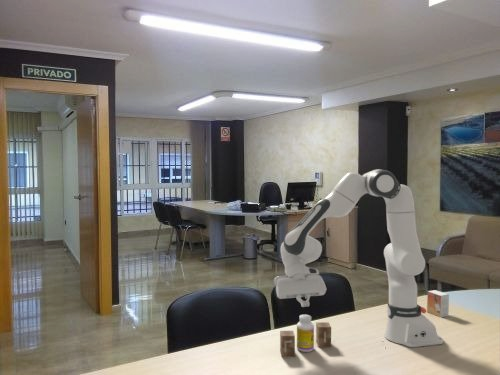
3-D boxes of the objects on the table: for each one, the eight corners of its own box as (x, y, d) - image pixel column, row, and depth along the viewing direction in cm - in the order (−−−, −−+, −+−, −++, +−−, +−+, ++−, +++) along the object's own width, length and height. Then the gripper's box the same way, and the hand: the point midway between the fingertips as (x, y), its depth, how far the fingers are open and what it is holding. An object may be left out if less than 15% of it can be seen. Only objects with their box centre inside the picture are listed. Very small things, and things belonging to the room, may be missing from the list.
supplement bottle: (313, 353, 155) (313, 320, 155) (296, 352, 156) (296, 319, 156) (314, 346, 162) (314, 314, 161) (297, 344, 163) (297, 313, 162)
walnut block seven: (293, 350, 157) (293, 330, 157) (294, 357, 152) (294, 336, 152) (280, 351, 157) (280, 330, 157) (281, 357, 152) (281, 336, 152)
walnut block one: (328, 341, 166) (328, 322, 165) (331, 347, 161) (331, 327, 160) (316, 341, 166) (316, 322, 165) (318, 347, 161) (318, 327, 160)
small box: (426, 312, 199) (427, 291, 199) (434, 310, 201) (435, 289, 201) (440, 317, 192) (440, 295, 191) (448, 315, 194) (449, 294, 194)
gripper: (274, 272, 163) (282, 304, 154) (321, 269, 168) (332, 300, 158) (271, 280, 167) (278, 312, 158) (317, 277, 172) (327, 307, 163)
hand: (305, 306), depth 158 cm, fingers closed
